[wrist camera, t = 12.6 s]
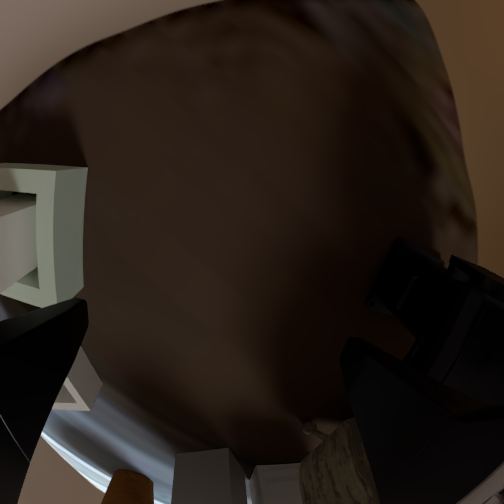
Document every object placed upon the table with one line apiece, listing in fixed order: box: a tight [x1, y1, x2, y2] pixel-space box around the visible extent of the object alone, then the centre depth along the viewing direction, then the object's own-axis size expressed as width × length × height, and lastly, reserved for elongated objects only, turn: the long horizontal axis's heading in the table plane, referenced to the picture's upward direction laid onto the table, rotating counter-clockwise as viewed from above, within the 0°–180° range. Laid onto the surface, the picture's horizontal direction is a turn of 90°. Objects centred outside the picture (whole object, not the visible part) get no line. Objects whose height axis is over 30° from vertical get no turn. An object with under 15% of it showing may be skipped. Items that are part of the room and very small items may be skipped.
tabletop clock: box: [299, 417, 380, 504], centre depth 16 cm, size 14×9×25 cm, turn 62°
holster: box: [52, 346, 103, 411], centre depth 20 cm, size 8×8×4 cm
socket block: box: [0, 163, 88, 308], centre depth 16 cm, size 10×10×4 cm
